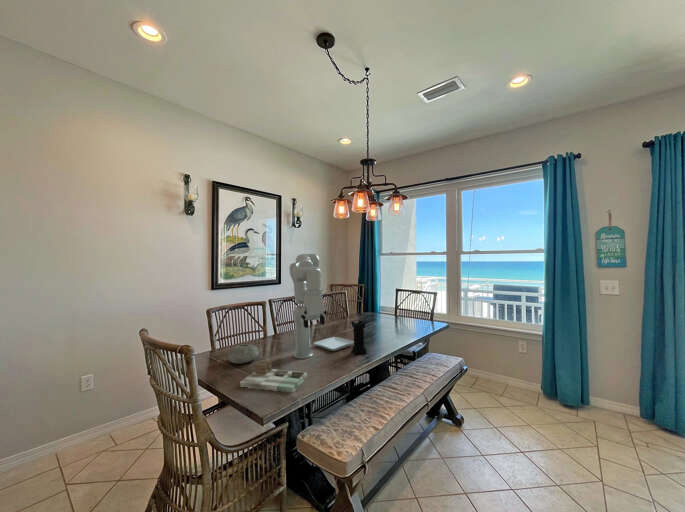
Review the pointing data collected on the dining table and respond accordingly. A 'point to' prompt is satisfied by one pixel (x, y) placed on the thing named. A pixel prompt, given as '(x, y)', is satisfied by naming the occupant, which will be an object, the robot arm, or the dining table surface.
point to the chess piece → (358, 338)
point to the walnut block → (263, 367)
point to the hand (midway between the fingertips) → (314, 325)
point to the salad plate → (334, 343)
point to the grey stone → (242, 353)
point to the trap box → (275, 380)
